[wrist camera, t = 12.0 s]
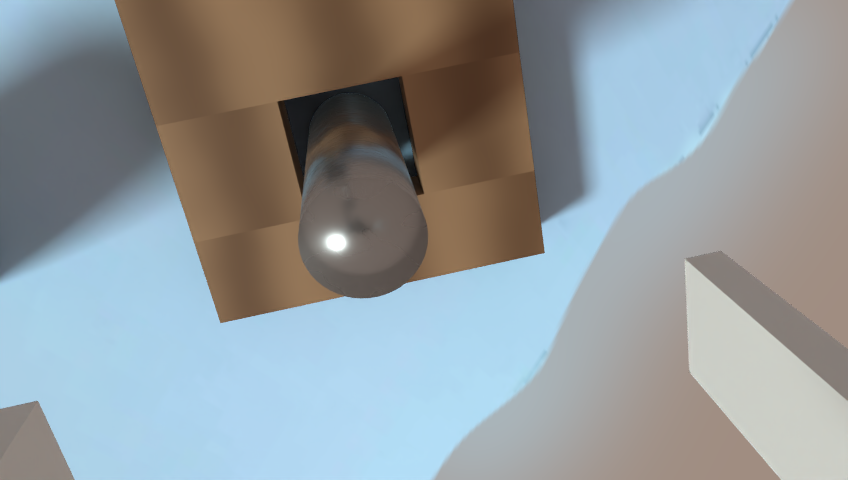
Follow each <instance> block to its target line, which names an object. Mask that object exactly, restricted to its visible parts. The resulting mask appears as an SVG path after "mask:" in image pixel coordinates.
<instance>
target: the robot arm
mask: <svg viewBox="0 0 848 480" xmlns="http://www.w3.org/2000/svg"><path fill="white" fill-rule="evenodd" d="M685 278H686V303H687V327H688V351H689V372H690V373H691V374H692V376H693V377H694V378H695V379H696V380H697V382H699V384H700V385H701V386H702V387H703V389H705V391H706V392H707V393H708V394H709V395H710V397H711V398H712V399H713V400H714V401H715V403H716V404H717V405H718V406H719V407H720V409H721V410H722V411H723V412H724V413H725V414H726V416H727V417H728V418H729V419H730V420H731V421H732V423H733V424H734V425H735V426H736V427H737V428H738V430H739V431H740V432H741V433H742V434H743V435H744V437H745V438H746V439H747V440H748V441H749V442H750V444H751V445H752V446H753V447H754V448H755V449H756V451H757V452H758V453H759V454H760V455H761V456H762V458H763V459H764V460H765V461H766V462H767V464H768V465H769V466H770V467H771V468H772V470H773V471H774V472H775V473H776V474H777V475H778V477H779V478H780V479H781V480H848V349H847V348H846V347H844V346H843V345H842V344H841V343H839V342H838V341H837V340H835V339H834V338H833V337H832V336H830V335H829V334H828V333H827V332H825V331H824V330H823V329H821V328H820V327H819V326H817V325H816V324H815V323H814V322H812V321H811V320H810V319H808V318H807V317H806V316H805V315H803V314H802V313H801V312H799V311H798V310H797V309H795V308H794V307H793V306H792V305H790V304H789V303H788V302H786V301H785V300H784V299H783V298H781V297H780V296H779V295H777V294H776V293H775V292H773V291H772V290H771V289H769V288H768V287H767V286H765V285H764V284H763V283H762V282H761V281H759V280H758V279H757V278H755V277H754V276H753V275H751V274H750V273H749V272H748V271H746V270H745V269H744V268H742V267H741V266H740V265H738V264H737V263H736V262H735V261H733V260H732V259H731V258H729V257H728V256H727V255H725V254H724V253H723V252H722V251H718V252H713V253H709V254H704V255H700V256H695V257H691V258H686V259H685ZM0 480H74V477H73V475H72V473H71V471H70V469H69V467H68V465H67V462H66V460H65V458H64V456H63V454H62V452H61V450H60V447H59V445H58V443H57V441H56V439H55V437H54V435H53V432H52V430H51V428H50V426H49V424H48V422H47V419H46V417H45V415H44V413H43V411H42V409H41V407H40V404H39V402H38V401H34V402H30V403H25V404H21V405H16V406H12V407H7V408H3V409H0Z"/></svg>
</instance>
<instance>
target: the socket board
mask: <svg viewBox="0 0 848 480" xmlns="http://www.w3.org/2000/svg"><path fill="white" fill-rule="evenodd" d="M115 3H116V6H117V9H118V12H119V15H120V18H121V21H122V24H123V27H124V30H125V33H126V36H127V39H128V42H129V45H130V48H131V51H132V54H133V58H134V61H135V64H136V67H137V70H138V73H139V76H140V79H141V82H142V85H143V88H144V91H145V94H146V97H147V100H148V103H149V106H150V109H151V112H152V115H153V118H154V121H155V125H156V128H157V131H158V134H159V137H160V140H161V143H162V146H163V149H164V152H165V155H166V158H167V161H168V164H169V167H170V170H171V173H172V176H173V179H174V182H175V185H176V189H177V192H178V195H179V198H180V201H181V204H182V207H183V210H184V213H185V216H186V219H187V222H188V225H189V228H190V231H191V234H192V237H193V240H194V243H195V246H196V249H197V253H198V256H199V259H200V262H201V265H202V268H203V271H204V274H205V277H206V280H207V283H208V286H209V289H210V292H211V295H212V298H213V301H214V304H215V307H216V310H217V313H218V317H219V320H220V323H223V322H228V321H232V320H237V319H242V318H246V317H251V316H256V315H260V314H265V313H269V312H274V311H279V310H283V309H288V308H292V307H297V306H302V305H306V304H311V303H316V302H320V301H325V300H329V299H334V298H339V297H343V295H340V294H337V293H335V292H332V291H330V290H328V289H327V288H325V287H324V286H322V285H321V284H320V283H319V282H317V281H316V280H315V279H314V278H313V277H312V275H311V274H310V273H309V271H308V270H307V269H306V267H305V265H304V263H303V261H302V258H301V255H300V251H299V246H298V232H299V222H300V213H301V203H302V194H303V184H304V177H303V173H302V169H301V165H300V161H299V157H298V153H297V149H296V145H295V141H294V137H293V133H292V130H291V126H290V122H289V118H288V114H287V110H286V106H285V102H284V100H287V99H292V98H297V97H302V96H307V95H312V94H317V93H322V92H327V91H332V90H337V89H341V88H346V87H351V86H356V85H361V84H366V83H371V82H376V81H381V80H386V79H391V78H395V77H398V79H399V84H400V89H401V94H402V100H403V105H404V110H405V115H406V120H407V126H408V131H409V136H410V141H411V147H412V152H413V157H414V162H415V167H416V173H417V176H413V177H410V178H411V181H412V184H413V186H414V189H415V192H416V195H417V197H418V200H419V203H420V206H421V208H422V211H423V214H424V217H425V220H426V224H427V229H428V245H427V250H426V254H425V257H424V259H423V261H422V263H421V265H420V267H419V268H418V270H417V271H416V273H415V274H414V275H413V276H412V277H411V278H410V279H409V280H408V281H407V282H406V283H408V282H412V281H417V280H422V279H426V278H431V277H436V276H440V275H445V274H449V273H454V272H459V271H463V270H468V269H472V268H477V267H482V266H486V265H491V264H496V263H500V262H505V261H509V260H514V259H519V258H523V257H528V256H532V255H537V254H542V253H545V252H544V244H543V236H542V228H541V220H540V212H539V204H538V196H537V188H536V180H535V172H534V164H533V156H532V148H531V140H530V133H529V125H528V117H527V109H526V101H525V93H524V85H523V77H522V69H521V61H520V53H519V45H518V37H517V29H516V21H515V13H514V5H513V0H115Z"/></svg>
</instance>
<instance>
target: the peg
mask: <svg viewBox="0 0 848 480" xmlns="http://www.w3.org/2000/svg"><path fill="white" fill-rule="evenodd" d="M427 245H428V229H427V224H426V220H425V217H424V214H423V211H422V208H421V206H420V203H419V200H418V197H417V195H416V192H415V189H414V186H413V184H412V181H411V178H410V175H409V172H408V170H407V167H406V164H405V161H404V159H403V156H402V153H401V150H400V148H399V145H398V142H397V139H396V137H395V134H394V131H393V128H392V126H391V123H390V120H389V118H388V115H387V114H386V112H385V110H384V109H383V108H382V107H381V106H380V105H379V104H378V103H377V102H376V101H375V100H373V99H371V98H370V97H368V96H365V95H362V94H358V93H342V94H338V95H335V96H333V97H331V98H329V99H327V100H326V101H325V102H323V103H322V104H321V105H320V106H319V107H318V109H317V110H316V111H315V113H314V115H313V117H312V119H311V122H310V127H309V136H308V146H307V156H306V165H305V175H304V184H303V194H302V203H301V213H300V222H299V232H298V246H299V251H300V255H301V258H302V261H303V263H304V265H305V267H306V269H307V270H308V271H309V273H310V274H311V275H312V277H313V278H314V279H315V280H316V281H317V282H319V283H320V284H321V285H322V286H324V287H325V288H327V289H328V290H330V291H332V292H335V293H337V294H340V295H343V296H347V297H352V298H372V297H378V296H381V295H385V294H387V293H390V292H392V291H394V290H396V289H397V288H399V287H401V286H402V285H403V284H405V283H406V282H407V281H408V280H409V279H410V278H411V277H412V276H413V275H414V274H415V273H416V271H417V270H418V268H419V267H420V265H421V263H422V261H423V259H424V257H425V254H426V250H427Z"/></svg>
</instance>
